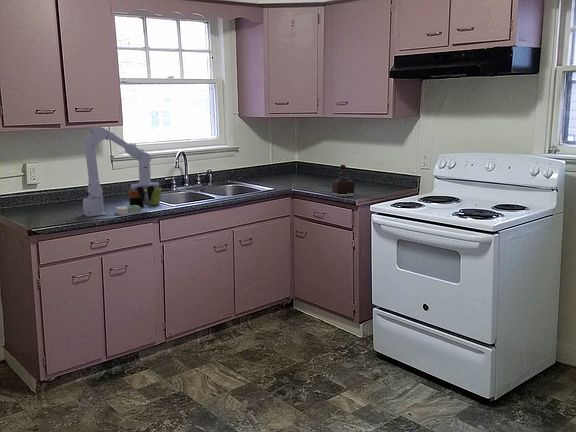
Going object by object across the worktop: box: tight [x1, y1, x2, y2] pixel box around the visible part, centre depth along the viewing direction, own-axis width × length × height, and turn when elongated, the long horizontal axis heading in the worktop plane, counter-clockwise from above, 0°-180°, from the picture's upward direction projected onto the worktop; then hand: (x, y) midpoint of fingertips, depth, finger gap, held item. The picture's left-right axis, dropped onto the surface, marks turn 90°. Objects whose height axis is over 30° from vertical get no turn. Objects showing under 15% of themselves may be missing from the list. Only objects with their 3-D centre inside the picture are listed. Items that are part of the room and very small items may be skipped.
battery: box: [128, 188, 145, 209], centre depth 315 cm, size 4×7×10 cm, turn 119°
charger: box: [114, 204, 143, 216], centre depth 301 cm, size 11×8×3 cm
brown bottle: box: [331, 164, 355, 194], centre depth 355 cm, size 16×11×18 cm
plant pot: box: [143, 187, 163, 206], centre depth 324 cm, size 9×9×9 cm
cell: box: [143, 190, 150, 206], centre depth 306 cm, size 3×3×8 cm
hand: (145, 200), depth 307 cm, fingers closed on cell, 3 cm apart
